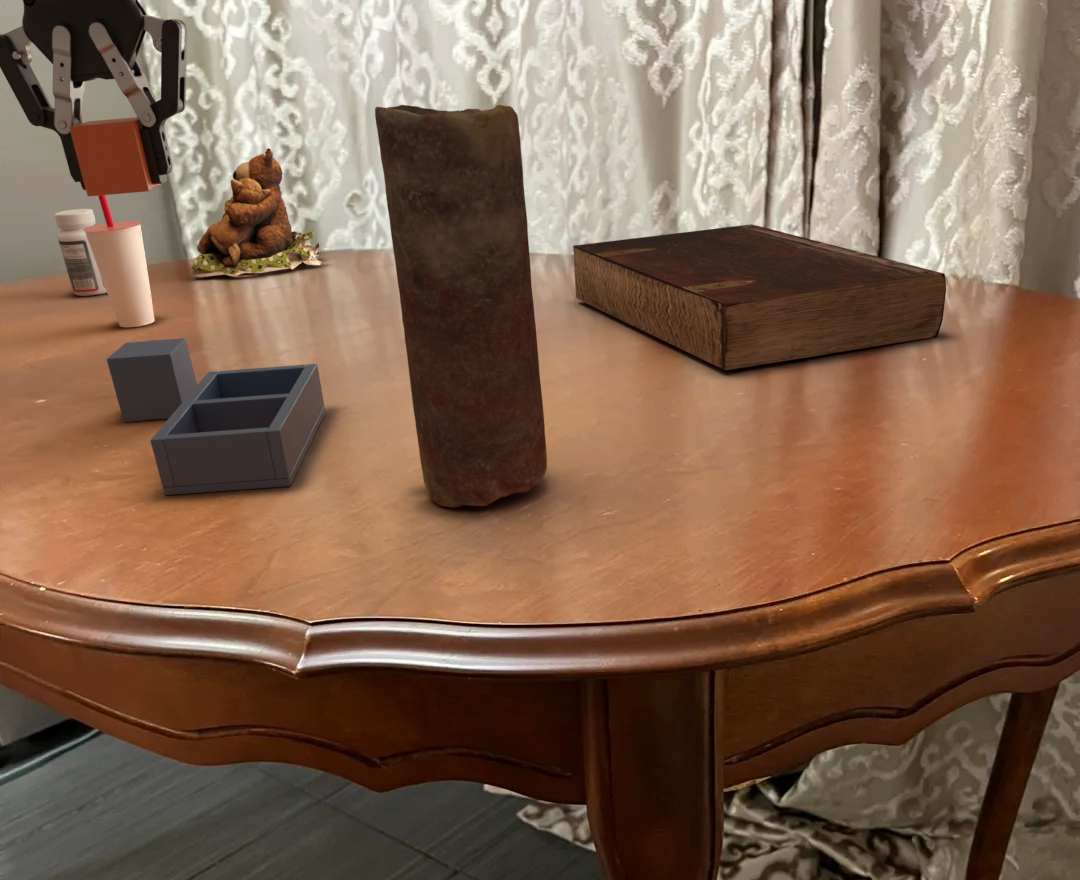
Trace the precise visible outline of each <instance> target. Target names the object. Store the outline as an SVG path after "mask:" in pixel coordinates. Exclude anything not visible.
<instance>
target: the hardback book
mask: <svg viewBox="0 0 1080 880" xmlns="http://www.w3.org/2000/svg"><path fill="white" fill-rule="evenodd" d="M572 249H573V250H572V251H573V269H574V285H575V299H577V300H579V301H581V302H583V303H585V304H587V305H589V306H591V307H593V308H595V309H597V310H599V311H602V312H604V313H606V314H608V315H610V316H612V317H614V318H616V319H617V320H618V319H619V320H620V321H622V322H624V323H626V324H628V325H631V326H633V327H635V328H637V329H639V330H641V331H643V332H645V333H647V334H649V335H651V336H653V337H655V338H657V339H660V340H662V341H664V342H666V343H667V344H670V345H672V346H673V347H676V348H678V349H679V350H682V351H684V352H687V353H688V354H690V355H693V356H695V357H697V358H699V359H700V360H703V361H705V362H707V363H709V364H711V365H713V366H715V367H717V368H719V369H721V370H724V371H729V370H737V369H742V368H743V369H744V368H749V367H755V366H760V365H768V364H774V363H780V362H786V361H787V362H788V361H793V360H798V359H805V358H812V357H818V356H825V355H830V354H836V353H842V352H843V353H844V352H849V351H856V350H861V349H868V348H873V347H881V346H888V345H894V344H900V343H906V342H911V341H912V342H913V341H918V340H919V341H920V340H925V339H931V338H937V337H938V336H939V333H940V330H941V328H942V324H943V321H944V312H945V303H946V294H947V282H946V274H945V273H944V272H940V271H937V270H932V269H929V268H924V267H922V266H921V267H920V266H917V265H913V264H909V263H905V262H901V261H897V260H894V259H889V258H885V257H881V256H877V255H874V254H870V253H865V252H862V251H858V250H854V249H850V248H846V247H843V246H839V245H834V244H831V243H828V242H827V243H826V242H823V241H818V240H816V239H811V238H806V237H802V236H799V235H795V234H791V233H789V232H783V231H781V230H776V229H771V228H768V227H764V226H761V225H756V224H752V223H751V224H750V223H749V224H742V225H735V226H734V225H733V226H725V227H716V228H709V229H700V230H691V231H684V232H676V233H667V234H659V235H650V236H643V237H642V236H641V237H634V238H625V239H617V240H610V241H609V240H608V241H601V242H592V243H583V244H576V245H575V244H574V245H573V246H572Z"/></svg>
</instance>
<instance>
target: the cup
mask: <svg viewBox="0 0 1080 880" xmlns="http://www.w3.org/2000/svg"><path fill="white" fill-rule="evenodd" d="M98 200H99V203H100V207H101V210H102V213H103V217H104V220H105V223H100V224H94V225H95V226H90V227H87V228H85V229H83V231H85V233H86V236H87V239H88V242H89V244H90V247H91V250H92V253H93V255H94V258H95V261H96V264H97V266H98V269H99V272H100V275H101V277H102V280H103V283H104V286H105V288H106V291H107V293H106V294H107V297H108V299H109V302H110V304H111V307H112V309H113V312H114V315H115V318H116V321H117V323H118V326H119V327H121V328H137V327H143V326H148V325H151V324H152V323H154V322H155V321H156V319H155V312H154V307H153V297H152V292H151V285H150V280H149V277H150V276H149V272H148V265H147V257H146V253H145V245H144V240H143V232H142V226H141V224H142V221H137V220H136V221H134V220H129V221H128V220H127V221H125V220H124V221H116V222H115V221H113V217H112V214H111V211H110V207H109V204H108V200H107V197H106V195H100V196H98Z"/></svg>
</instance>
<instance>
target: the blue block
mask: <svg viewBox="0 0 1080 880" xmlns="http://www.w3.org/2000/svg"><path fill="white" fill-rule="evenodd" d="M106 362H107V366H108V369H109V374H110V377H111V380H112V385H113V388H114V392H115V395H116V399H117V402H118V406H119V410H120V414H121V417H122V421H123V422H124V423H128V422H129V423H131V422H143V421H158V420H168V419H169V418H170V417H171V415H172V414H173V413H174V412H175V411H176V409H177V408H178V407H179V406H180V405H181V404H182V402H183V401H184V400H185V399H186V398H187V397H188V395H189V394H190V393H191V392H192V391H193V390H194V388H195V387H196V386H197V385H198V384H197V380H196V375H195V371H194V367H193V362H192V358H191V353H190V349H189V346H188V341H187V338H186V337H183V338H170V339H156V340H155V339H154V340H143V341H132V342H131V341H130V342H125V343H123V344H122V345H121V346H120V347H119V348H117V349H116V350H115V351H114V352H112V354H110V355H109V356H108V357H107V358H106Z"/></svg>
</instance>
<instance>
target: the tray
mask: <svg viewBox="0 0 1080 880" xmlns="http://www.w3.org/2000/svg"><path fill="white" fill-rule="evenodd" d="M325 414H326V407H325V401H324V395H323V389H322V383H321V378H320V373H319V366H318V364H317V363H309V364H296V365H295V364H294V365H282V366H280V365H279V366H268V367H255V368H243V369H241V368H240V369H228V370H219V371H218V370H217V371H208V372H207V373H206V374H205V375H204V377H203V378H202V379H201V380H200V381H199V382H198V384H197V386H196V387H195V388H194V390H193V391H192V392H191V393H190V394H189V395H188V397H187V398H186V399H185V400H184V401H183V402H182V404H181V405H180V406H179V407H178V408H177V409H176V411H175V412H174V413H173V414H172V415H171V417H170V418H169V419H166V421H165V422H164V424H162V426H161V427H160V428H159V429H158V431H157V432H156V433H155V434H154V435H153V436H152V437H151V438H150V444H151V448H152V452H153V455H154V460H155V463H156V468H157V471H158V475H159V478H160V482H161V486H162V491H163V494H164V496H173V495H187V494H200V493H202V494H203V493H215V492H216V493H217V492H227V491H242V490H244V491H245V490H257V489H270V488H271V489H272V488H285V487H291V485H292V484H293V482H294V479H295V477H296V475H297V473H298V471H299V469H300V467H301V464H302V463H303V460H304V458H305V456H306V454H307V451H308V450H309V448H310V446H311V444H312V442H313V439H314V438H315V435H316V434H317V431H318V430H319V427H320V425H321V423H322V421H323V418H324V416H325Z"/></svg>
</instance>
